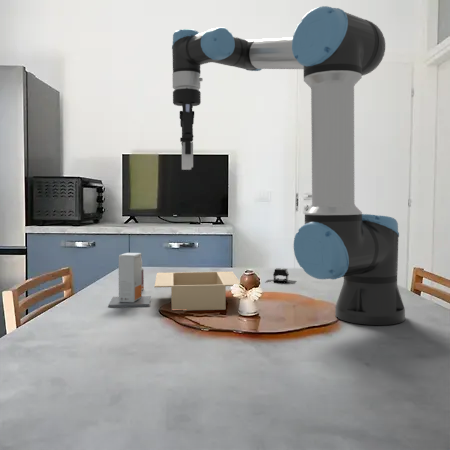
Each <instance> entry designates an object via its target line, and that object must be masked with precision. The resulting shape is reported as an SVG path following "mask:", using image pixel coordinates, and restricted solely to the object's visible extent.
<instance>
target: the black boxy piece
mask: <svg viewBox="0 0 450 450" xmlns="http://www.w3.org/2000/svg"><path fill="white" fill-rule="evenodd" d="M272 275H273V279H267V280H266V281H264V283H265V284H266V283H267V284H268V283H269V284H286V285H291V284H292V285H295V284H296V283H297V280H289V275H290V273H289V271H288V268H275V269H274V272H273V274H272ZM278 276H281V277H282V276H283V277H285V278H278Z"/></svg>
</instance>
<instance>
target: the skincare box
mask: <svg viewBox="0 0 450 450" xmlns="http://www.w3.org/2000/svg"><path fill="white" fill-rule="evenodd" d="M142 257H143V256H142V252H125V253H122V254H119V255H118V297H119V302H135V301H137V300H139V299H141V298H142V296H143V294H142V293H143V292H142V291H143V290H142V268H143V267H142V266H143V260H142Z"/></svg>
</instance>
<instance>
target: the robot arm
mask: <svg viewBox="0 0 450 450" xmlns="http://www.w3.org/2000/svg"><path fill="white" fill-rule="evenodd" d="M171 50H172V89H173V91H172V104H173V105H174V106H178V107H182V110H180V111H179V121H180V124H179V125H180V128H181V137H180V139H179V140H180V143H181V171H182V170H183V171H184V170H186V171H187V170H188V171H190V170H191V171H192V168H194V128H193V126H194V124H195V123H194V121H195V110H193V107H197V106H200V105H201V102H202V101H201V100H202V99H201V98H202V97H201V96H202V95H201V94H202V93H201V91H200V89H201V82H203V77H201V66H202V65H205V64H208V63H215V64H218V65H223V66H229V67H234V68H238V69H243V70H246V71H249V72H250V71H251V72H260V71H262V70H303V82H304V83H305V84H306V85H308V87H309V88H310V92H311V93H310V95H311V97H310V98H311V99H310V100H311V101H310V102H311V103H310V104H311V106H310V107H311V110H310V113H311V118H310V119H311V120H310V121H311V206H310V207H308V209H307V210H306V211H305V212H304V224H303V225H302V226H301V227H299V229H298V230H297V231H298V232H296V233H295V235H294V238H293V252H294V253H293V254H294V257H295V259H296V261H297V263H298V265H299V266H300V268H301V269H303V271H304V272H305V274H307V275H308V276H310V277H312V278H314V279H317V280H337V279H341V278H343V284H342V287H341V288H340V289H341V290H340V292H339V295H338V298H337V301H336V304H335V309H334V310H335V312H334V313H335V315H336V316H335V317H336V318H337V317H338V318H337V319H339V320H341V321H343V322H348V323H353V324H359V325H365V326H366V325H367V326H368V325H369V326H389V325H397V324H401V323H403V322H405V320H406V309H405V306H404V302H403V298H402V296H401V292H400V289H399V286H398V266H399V265H398V264H399V263H398V261H399V259H398V258H399V237H400V232H399V223H398V221H397V219H395V217H391V216H387V215H380V214H378V215H377V214H371V213H370V214H367V213H363V212H362V210H360V209H359V208H358V207H357V206H356V204H355V85H356V84H357V83H358V82H359V81H360V80H361V79H362V76H365V75H368V74H370V73H372V72H373V71H374V70H376V69H377V68H378V66H380V64H381V62H382V60H383V59H384V56H385V53H386V39H385V36H384V34H383V31H382V30H381V28H379V26H377V24H375V23H374V22H372V21H371V20H368V19H364V18H362V17H360V16H356V15H354V14H352V13H349V12H346V11H344V10H343V9H341V8H339V7H338V8H337V7H331V6H328V5H326V6H324V5H322V6H318V7H315V8H313V9H311V10H310V11H308V12H307V13H306V14H305V15H304V16H303V17H302V18H301V21H300V22H299V23H298V24H297V26H296V28H295V30H294V32H293V35H292V37H282V38H281V37H280V38H279V37H278V38H277V37H276V38H262V39H260V38H259V39H244V38H240V37H238V36H237V37H236V36H233V34H232V32H230V31H229V30H228V28H226V27H223V26H222V27H221V26H220V27H216V28H215V27H214V28H213V27H212V28H211V29H208V30H205V31H203V32H201V33H200V32H199V31H198V30H196V29H191V28H184V29H178V30H175V31H174V32H173V34H172V45H171Z"/></svg>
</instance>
